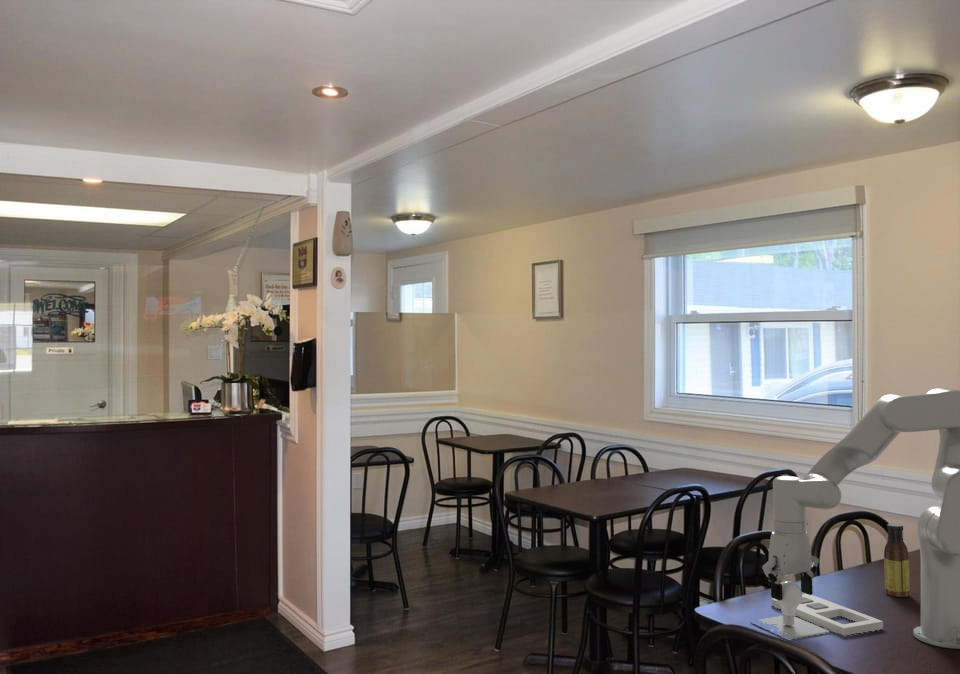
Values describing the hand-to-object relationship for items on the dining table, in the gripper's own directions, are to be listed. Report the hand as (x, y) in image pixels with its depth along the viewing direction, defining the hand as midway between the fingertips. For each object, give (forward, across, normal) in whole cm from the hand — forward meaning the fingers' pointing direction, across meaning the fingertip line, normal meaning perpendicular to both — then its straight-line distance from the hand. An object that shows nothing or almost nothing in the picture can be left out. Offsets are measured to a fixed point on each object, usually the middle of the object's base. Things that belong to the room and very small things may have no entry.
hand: (791, 596), depth 195 cm
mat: (+8, +1, 0) cm, 8 cm away
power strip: (+8, -14, -3) cm, 16 cm away
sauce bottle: (+9, -48, -10) cm, 50 cm away
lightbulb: (+8, +1, 0) cm, 8 cm away
